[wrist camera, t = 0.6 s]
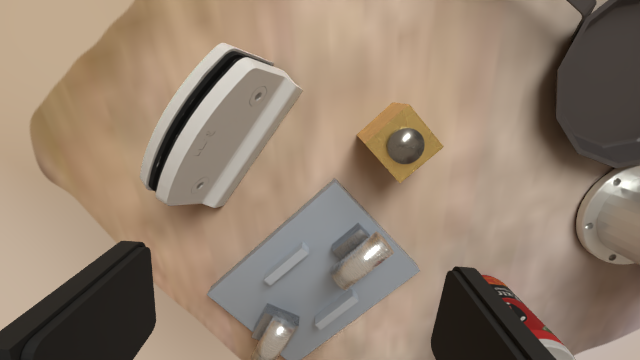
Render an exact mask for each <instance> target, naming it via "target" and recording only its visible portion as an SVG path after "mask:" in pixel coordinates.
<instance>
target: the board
mask: <svg viewBox="0 0 640 360" xmlns="http://www.w3.org/2000/svg"><path fill="white" fill-rule="evenodd" d="M357 223H359V224H360V225H361V226H362V227H363V228H364V229H365V230H366V231H367V232H368V233H369V234H370V235H372V234H373V233H375V232H376V231H377V232H378V233H380V234H381V235H382V236H383V237H384V239H385V240H386V241H387V242H388V244H389V245H390V246H391V248H392V249H393V251H394V254H393V255H391V256H390V257H389V258H387V259H386V260H385V261H383V262H382V263H381V264H380V265H378V266H377V267H376V268H374V269H373V270H372V271H371V272H369V273H368V274H367V275H365V276H364V277H363V278H362V279H360V280H359V281H358V282H356V283H355V284H354V285H352V286H351V287H350V288H349V289H347V290H343V289H341V288H340V287H339V286H338V285H337V284H336V282H335V281H334V280H333V278H332V276H331V273H330V268H331V267H332V266H334V265H335V264H336V263H337V262H339V261H340V259H339V258H338V257H337V256H336V255H335V254H334V253H333V250H332V244H333V243H334V242H335V241H337V240H338V239H339V238H340V237H341V236H343V235H344V234H345V233H346V232H347V231H349V230H350V229H351V228H352V227H354V226H355V225H356V224H357ZM419 271H420V270H419V268H418V266H417V265H416V263H415V262H414V261H413V260H412V259H411V258H410V257H409V256H408V255H407V254H406V253H405V252H404V251H403V250H402V248H401V247H400V246H399V245H398V244H397V243H396V242H395V241H394V240H393V239H392V238H391V237H390V236H389V235H388V234H387V233H386V232H385V231H384V229H383V228H382V227H381V226H380V225H379V224H378V223H377V222H376V221H375V220H374V219H373V218H372V217H371V216H370V215H369V214H368V213H367V212H366V211H365V209H364V208H363V207H362V206H361V205H360V204H359V203H358V202H357V201H356V200H355V199H354V198H353V197H352V196H351V195H350V194H349V193H348V192H347V190H346V189H345V188H344V187H343V186H342V185H341V184H340V183H339V182H338V181H337V180H336V179H335V178H334V179H333V180H332V181H331V182H330V183H329V184H328V185H326V186H325V187H324V188H323V189H322V190H321V191H320V192H318V193H317V194H316V195H315V196H314V197H313V198H312V199H310V200H309V201H308V202H307V203H306V204H305V205H304V206H302V207H301V208H300V209H299V210H298V211H297V212H296V213H295V214H293V215H292V216H291V217H290V218H289V219H288V220H287V221H285V222H284V223H283V224H282V225H281V226H280V227H279V228H277V229H276V230H275V231H274V232H273V233H272V234H271V235H269V236H268V237H267V238H266V239H265V240H264V241H263V242H262V243H260V244H259V245H258V246H257V247H256V248H255V249H254V250H252V251H251V252H250V253H249V254H248V255H247V256H246V257H244V258H243V259H242V260H241V261H240V262H239V263H238V264H236V265H235V266H234V267H233V268H232V269H231V270H230V271H229V272H227V273H226V274H225V275H224V276H223V277H222V278H221V279H219V280H218V281H217V282H216V283H215V284H214V285H213V286H211V288H210V290H209V292H208V293H207V295H208V296H209V297H210V298H212V299H213V300H214V301H215V302H217V303H218V304H219V305H220V306H221V307H223V308H224V309H225V310H226V311H228V312H229V313H230V314H231V315H232V316H234V317H235V318H236V319H237V320H238V321H240V322H241V323H242V324H243V325H245V326H246V327H247V328H248V329H249V330H251V331H252V332H253V330H254V326H255V325H256V323H257V321H258V319H259V317H260V315H261V314H262V312H263V310H264V308H265V306H266V305H267V303H269V304H271V305H274V306H276V307H278V308H281V309H283V310H286V311H288V312H290V313H293V314H295V315H297V316H300V318H299V327H298V329H297V330H296V332H295V334H294V335H293V337H292V339H291V340H290V342H289V344H288V345H287V347H286V349H285V350H282V352H281V353H280V355H281V356H282V357H284V358H285V359H286V360H301V359H302V358H304V357H305V356H306V355H308V354H309V353H310V352H312V351H313V350H314V349H316V348H317V347H318V346H320V345H321V344H322V343H324V342H325V341H326V340H328V339H329V338H330V337H332V336H333V335H335V334H336V333H337V332H339V331H340V330H341V329H343V328H344V327H345V326H347V325H348V324H349V323H351V322H352V321H353V320H355V319H356V318H357V317H359V316H360V315H361V314H363V313H364V312H365V311H367V310H368V309H369V308H371V307H372V306H374V305H375V304H376V303H378V302H379V301H380V300H382V299H383V298H384V297H386V296H387V295H388V294H390V293H391V292H392V291H394V290H395V289H396V288H398V287H399V286H400V285H402V284H403V283H404V282H406V281H407V280H408V279H410V278H411V277H412V276H414V275H415V274H417V273H418V272H419Z"/></svg>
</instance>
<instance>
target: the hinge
mask: <svg viewBox="0 0 640 360" xmlns="http://www.w3.org/2000/svg"><path fill="white" fill-rule="evenodd" d="M273 64H274V63H273V62H271V61H268V60H266V59H264V58H261V57H259V56H256V55H254V54H251V53H249V52H246V51H244V50H241V49H239V48H236V47H233V46H231V45H228V44H226V43H221V44H219V45H217V46H216V47H215V48H214V49H213V50H212V51H211V52H210V53H209V54H208V55H207V56H206V57H205V58H204V59H203V60H202V61H201V62H200V63H199V64H198V65H197V67H196V68H195V69H194V70H193V71H192V72H191V74H190V75H189V76H188V77H187V79H186V80H185V81H184V83H183V84H182V85H181V87H180V88H179V89H178V91H177V92H176V94H175V95H174V97H173V98H172V100H171V101H170V103H169V104H168V106H167V108H166V109H165V111H164V112H163V114H162V116H161V118H160V120H159V122H158V124H157V126H156V128H155V130H154V132H153V134H152V136H151V139H150V141H149V144H148V146H147V149H146V152H145V155H144V159H143V163H142V167H141V173H140V179H141V180H142V182H143V184H144V185H145V187H146V188H147V189H148V190H153V191H155V192H156V198H157V199H158V200H160V201H162V202H163V203H165V204H167V205H168V206H175V205H188V204H200V203H201V204H205V205H207V206H210V207H213V208H217V207H221V206H224V204H225V203H226V202H227V200H228V199H229V197H230V196H231V194H232V193H233V191H234V190H235V188H236V187H237V186H238V184H239V183H240V181H241V180H242V178H243V177H244V175H245V174H246V172H247V171H248V170H249V168H250V167H251V165H252V164H253V162H254V161H255V159H256V158H257V156H258V155H259V154H260V152H261V151H262V149H263V148H264V146H265V145H266V143H267V142H268V140H269V139H270V138H271V136H272V135H273V133H274V132H275V130H276V129H277V127H278V126H279V124H280V123H281V122H282V120H283V119H284V117H285V116H286V114H287V113H288V111H289V110H290V108H291V107H292V106H293V104H294V103H295V101H296V100H297V98H298V97H299V95H300V94H301V92H302V91H303V90H302V89H301V88H300V86H298V85H297V84H295V83H294V82H293V81H292V79H291V78H290V77H289V76H288V75H287V74H286V73H285V71H284V70H281V69H278V68H276V67H273V66H272V65H273Z"/></svg>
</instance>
